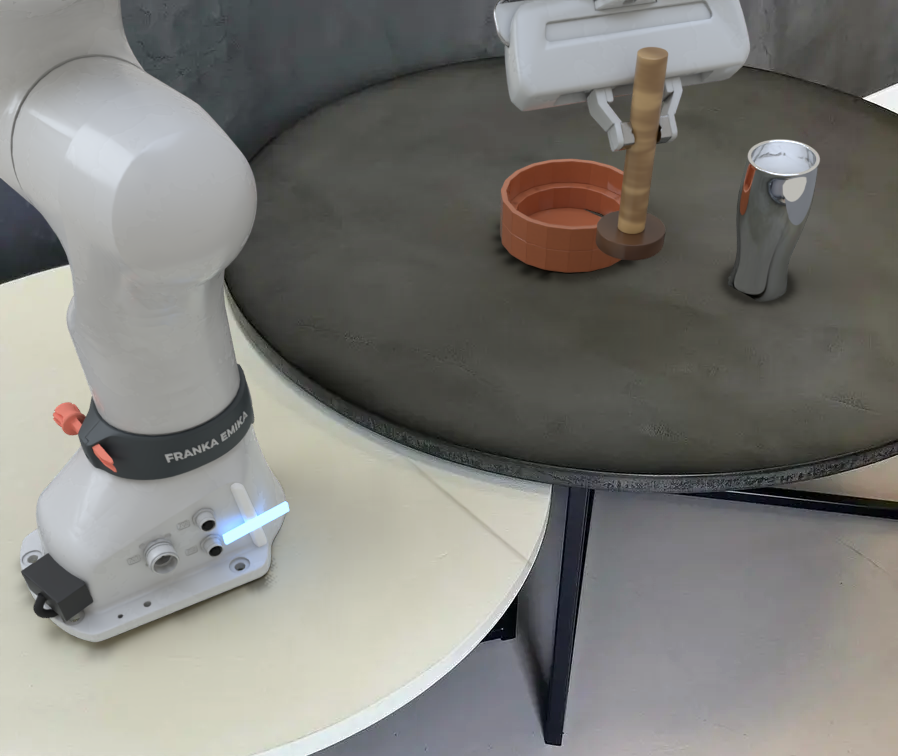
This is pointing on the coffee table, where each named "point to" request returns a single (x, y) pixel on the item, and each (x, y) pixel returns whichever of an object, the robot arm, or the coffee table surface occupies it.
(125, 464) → the robot arm
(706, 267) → the coffee table surface
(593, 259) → the bowl
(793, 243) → the beer glass
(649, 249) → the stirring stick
